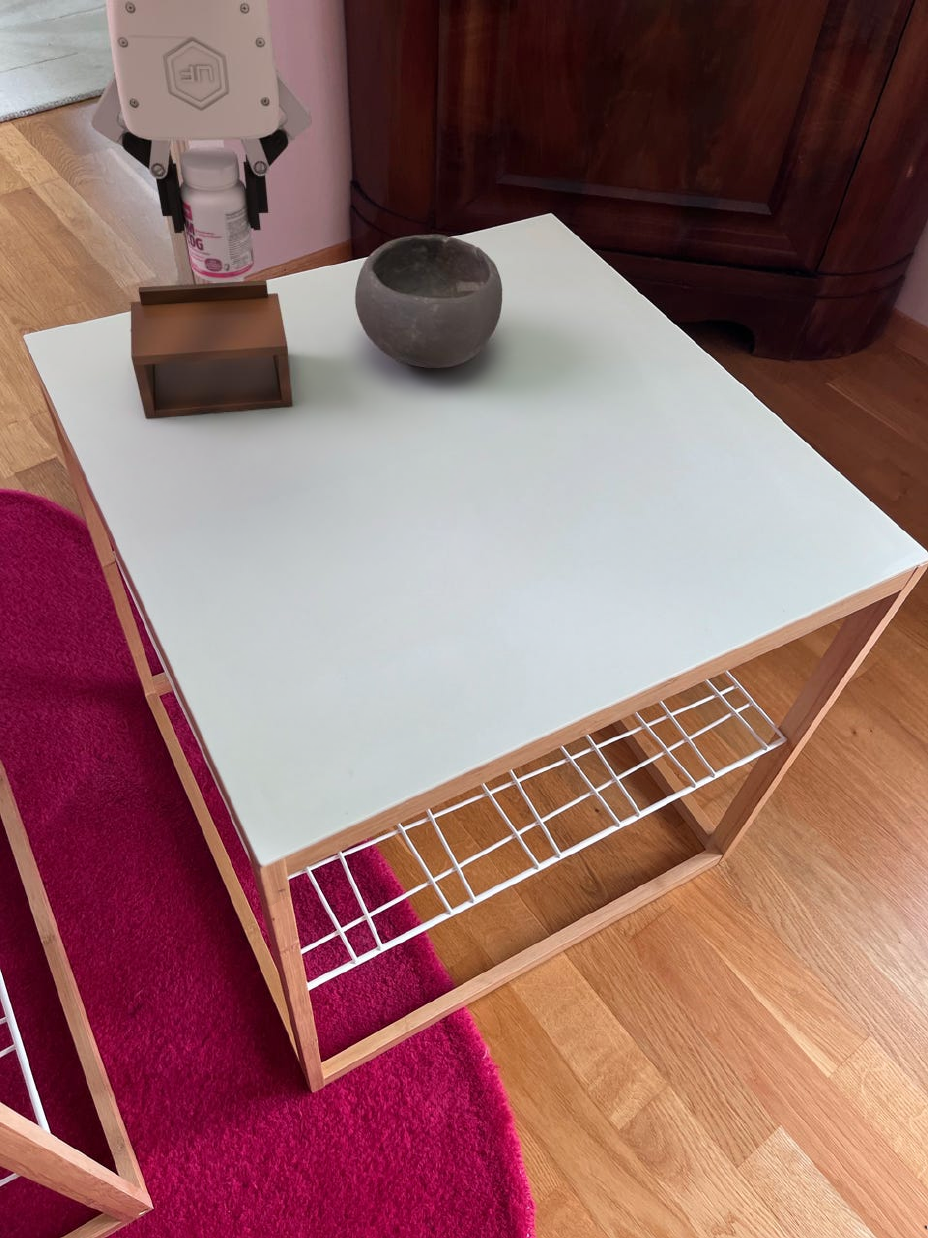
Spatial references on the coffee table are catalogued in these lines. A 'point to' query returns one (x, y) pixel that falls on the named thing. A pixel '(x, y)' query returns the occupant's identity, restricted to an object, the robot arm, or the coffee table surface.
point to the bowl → (429, 300)
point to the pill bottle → (216, 214)
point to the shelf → (209, 349)
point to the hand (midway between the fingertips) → (217, 220)
